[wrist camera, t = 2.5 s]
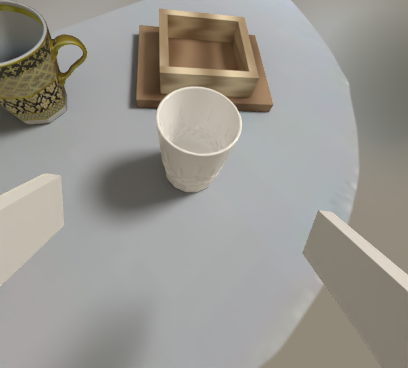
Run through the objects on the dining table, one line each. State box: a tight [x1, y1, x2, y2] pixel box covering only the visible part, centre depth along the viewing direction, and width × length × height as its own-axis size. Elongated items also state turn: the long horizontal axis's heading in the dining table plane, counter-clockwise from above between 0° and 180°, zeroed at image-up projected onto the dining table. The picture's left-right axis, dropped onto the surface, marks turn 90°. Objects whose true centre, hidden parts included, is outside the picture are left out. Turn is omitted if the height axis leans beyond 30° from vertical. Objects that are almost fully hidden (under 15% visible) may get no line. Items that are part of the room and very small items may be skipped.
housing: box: [136, 9, 273, 112], centre depth 35 cm, size 20×16×5 cm
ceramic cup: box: [0, 0, 87, 124], centre depth 26 cm, size 13×10×10 cm
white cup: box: [156, 87, 242, 192], centre depth 25 cm, size 8×8×10 cm
